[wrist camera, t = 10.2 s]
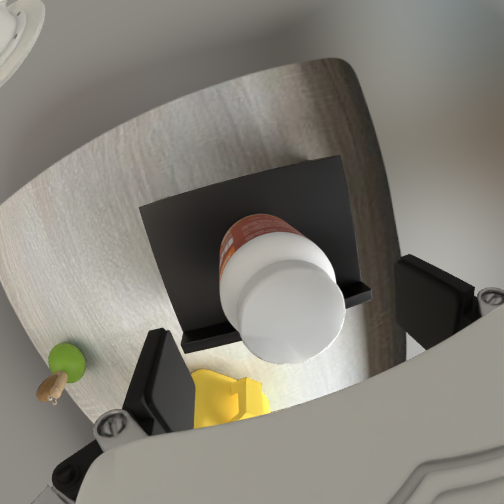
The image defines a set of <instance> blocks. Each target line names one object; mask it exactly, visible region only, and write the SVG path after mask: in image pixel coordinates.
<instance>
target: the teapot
mask: <svg viewBox="0 0 504 504" xmlns="http://www.w3.org/2000/svg"><path fill="white" fill-rule="evenodd" d="M191 376H192V378H193V380H194V383H195V387H196V393H195V414H194V429H196V428H201V427H207V426H213V425H218V424H223V423H228V422H233V421H238V420H242V419H247V418H251V417H255V416H259V415H263V414H267V413H270V406H269V401H268V399H267V397H266V396H265V395H264V394H263V393H262V384H261V383H260V382H257V381H255V380H252V379H250V378H247V377H245V378H243V379H240V380H236V379H233V378H231V377H228V376H225V375H222V374H219V373H216V372H213V371H210V370H205V369H199V370H196V371H194V372H193V373H192V374H191Z"/></svg>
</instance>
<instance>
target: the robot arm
mask: <svg viewBox="0 0 504 504" xmlns="http://www.w3.org/2000/svg"><path fill="white" fill-rule="evenodd" d="M6 3H7V0H0V67H1V66H2V65H3V64H4V63H5V62H6V61H7V59H8V58H9V57H10V55H11V54H12V53H13V51H14V50H15V48H16V47H17V45H18V43H19V41H20V40H21V38H22V35H23V33H24V31H25V28H26V24H27V15H26V13H25V12H24V11H23V10H21V9H13V10H11V11H8V10H6V9H7V7H6ZM394 271H395V302H396V321H397V323H398V325H399V326H400V327H402V328H403V329H404V330H405V331H406V332H407V333H408V334H409V335H410V336H411V337H412V338H414V339H415V340H416V341H417V342H418V343H419V344H420V345H421V346H422V347H423V348H425V350H426V351H425V352H423V353H421V354H419V355H417V356H415V357H413V358H411V359H409V360H407V361H405V362H403V363H401V364H399V365H397V366H395V367H393V368H391V369H389V370H387V371H385V372H382V373H380V374H378V375H376V376H374V377H371V378H369V379H367V380H364V381H362V382H359V383H357V384H355V385H352V386H349V387H347V388H344V389H342V390H339V391H336V392H334V393H331V394H328V395H325V396H323V397H320V398H317V399H314V400H311V401H308V402H305V403H301V404H298V405H295V406H292V407H288V408H285V409H281V410H278V411H274V412H270V413H267V414H263V415H259V416H255V417H251V418H247V419H242V420H238V421H233V422H228V423H223V424H218V425H213V426H207V427H201V428H196V429H194V414H195V393H196V387H195V383H194V380H193V378H192V376H191V374H190V372H189V370H188V368H187V366H186V364H185V362H184V360H183V358H182V356H181V354H180V352H179V349H178V347H177V345H176V343H175V341H174V339H173V336H172V334H171V332H170V331H169V330H167V331H166V330H165V329H164V328H159V329H155V330H151V331H149V332H148V335H147V337H146V340H145V343H144V346H143V348H142V351H141V354H140V357H139V359H138V362H137V365H136V368H135V371H134V374H133V377H132V379H131V382H130V385H129V388H128V391H127V394H126V398H125V401H124V404H123V407H122V409H114V410H110V411H108V412H106V413H104V414H103V415H101V416H100V417H99V418H98V419H97V420H96V422H95V424H94V427H93V433H94V436H95V438H96V439H95V440H94V441H92V442H91V443H89V444H88V445H87V446H85V447H84V448H82V449H81V450H79V451H78V452H76V453H75V454H73V455H72V456H70V457H69V458H67V459H66V460H64V461H63V462H61V463H60V464H59V465H58V466H57V467H56V468H55V469H54V471H53V474H52V482H53V486H52V487H50V486H47V487H46V488H45V489H44V490H43V491H42V492H41V493H40V494H39V495H38V497H37V498H36V499H35V500H34V501H33V502H32V503H31V504H504V290H502V289H500V288H494V287H489V288H485V289H482V290H481V291H479V293H478V294H477V297H476V296H474V290H475V287H474V286H472V285H470V284H468V283H466V282H464V281H463V280H461V279H459V278H457V277H455V276H453V275H451V274H449V273H447V272H445V271H443V270H441V269H439V268H437V267H435V266H433V265H431V264H429V263H427V262H425V261H423V260H421V259H419V258H417V257H415V256H413V255H410V254H408V255H405V256H403V257H400V258H398V259H397V262H396V263H395V265H394Z"/></svg>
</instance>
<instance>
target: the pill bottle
mask: <svg viewBox="0 0 504 504" xmlns="http://www.w3.org/2000/svg"><path fill="white" fill-rule="evenodd" d="M219 281H220V299H221V304H222V308H223V311H224V313H225V315H226V317H227V319H228V320H229V322H230V323H231V324H232V325H233V327H234V328H235V329H236V330H237V331H238V332H239V333H240V336H241V338H242V341H243V343H244V344H245V346H246V347H247V348H248V349H249V350H250V352H252V353H253V354H254V355H255V356H257V357H258V358H260V359H262V360H264V361H267V362H270V363H274V364H282V365H288V364H296V363H301V362H304V361H307V360H309V359H311V358H313V357H315V356H317V355H319V354H320V353H322V352H323V351H324V350H325V349H326V348H328V347H329V346H330V345H331V344H332V343H333V341H334V340H335V339H336V337H337V336H338V334H339V332H340V330H341V328H342V326H343V322H344V318H345V301H344V298H343V295H342V292H341V290H340V288H339V287H338V285H337V284H336V279H335V274H334V270H333V268H332V265H331V263H330V261H329V260H328V258H327V257H326V255H325V254H324V253H323V251H322V250H321V249H320V248H319V247H318V246H317V245H316V244H314V243H313V242H312V241H311V240H309V239H308V238H307V237H305V236H304V235H303V234H301V233H300V232H298V231H297V230H296V229H294V228H293V227H292V226H290V225H289V224H288V223H286V222H285V221H283V220H282V219H280V218H278V217H275V216H272V215H268V214H255V215H250V216H247V217H245V218H243V219H241V220H239V221H238V222H236V223H235V224H234V225H233V226H232V227H231V228H230V229H229V230H228V231H227V233H226V234H225V236H224V238H223V241H222V243H221V247H220V273H219Z"/></svg>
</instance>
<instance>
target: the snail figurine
mask: <svg viewBox="0 0 504 504" xmlns="http://www.w3.org/2000/svg"><path fill="white" fill-rule="evenodd" d="M48 363H49V367H50V370H51V372H52V373H53V374H52V375H51V376H50V377H48V378H47V379H46V380H44V381H43V382H42V384H41V385H40V386H39V388H38V390H37V393H36V396H37V398H38V400H39V401H41V402H46V401H48V400H50V401H51V400H52V398H56V400H57V398H59V397H60V395H61V392H62V390H63V389H64V387H65V385H66V383H74V382H77V381H78V380H80V379H81V378H82V376H83V375H84V373H85V369H86V363H85V359H84V356H83V354H82V353H81V351H80V350H79V349H78V348H77V347H75V346H74V345H72V344H69V343H60V344H58V345H56V346H55V347H53V348H52V350H51V351H50V354H49V358H48ZM56 400H53V401H52V404H53V405H56V404H57V402H56Z"/></svg>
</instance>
